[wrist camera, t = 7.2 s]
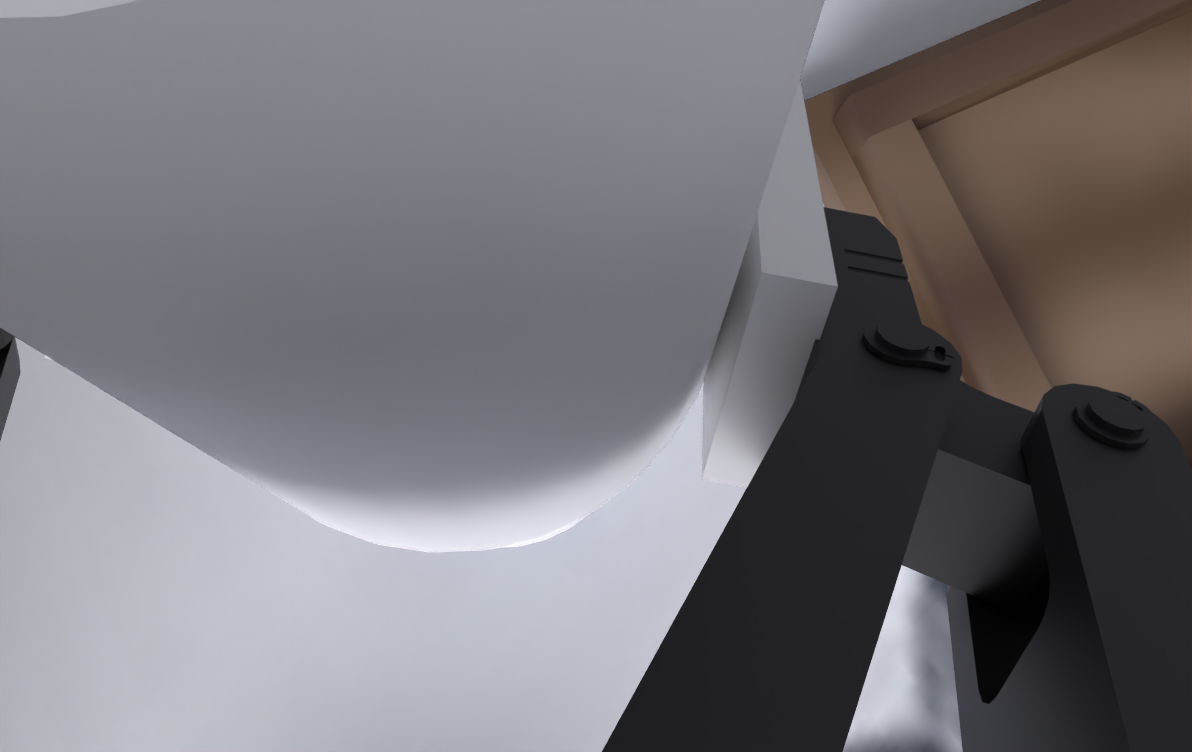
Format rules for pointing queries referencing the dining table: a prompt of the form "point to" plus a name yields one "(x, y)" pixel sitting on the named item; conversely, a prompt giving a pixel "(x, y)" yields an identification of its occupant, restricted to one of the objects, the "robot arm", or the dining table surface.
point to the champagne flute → (393, 235)
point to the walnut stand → (1037, 195)
